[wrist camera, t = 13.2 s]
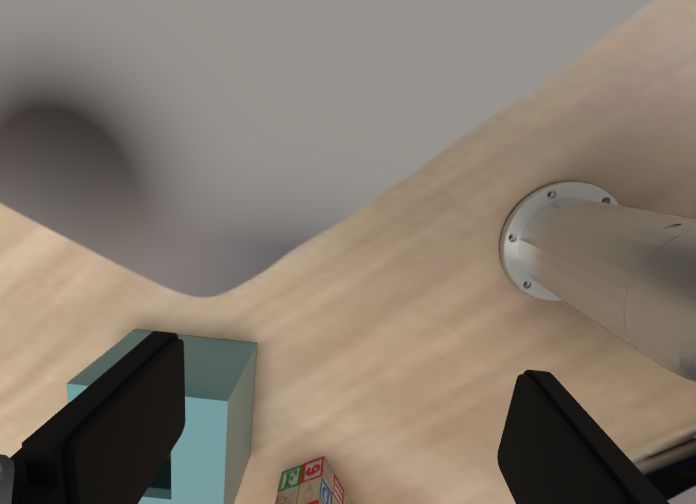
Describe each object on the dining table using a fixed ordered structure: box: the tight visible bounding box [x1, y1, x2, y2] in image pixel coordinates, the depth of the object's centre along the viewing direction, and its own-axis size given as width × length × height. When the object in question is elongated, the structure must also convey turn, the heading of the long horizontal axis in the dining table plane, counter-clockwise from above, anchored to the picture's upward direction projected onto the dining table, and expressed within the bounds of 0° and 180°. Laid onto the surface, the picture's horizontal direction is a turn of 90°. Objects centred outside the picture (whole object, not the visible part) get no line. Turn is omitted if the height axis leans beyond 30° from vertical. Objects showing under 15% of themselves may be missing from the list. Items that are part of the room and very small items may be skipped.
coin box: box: [67, 330, 257, 504], centre depth 38 cm, size 14×16×10 cm
